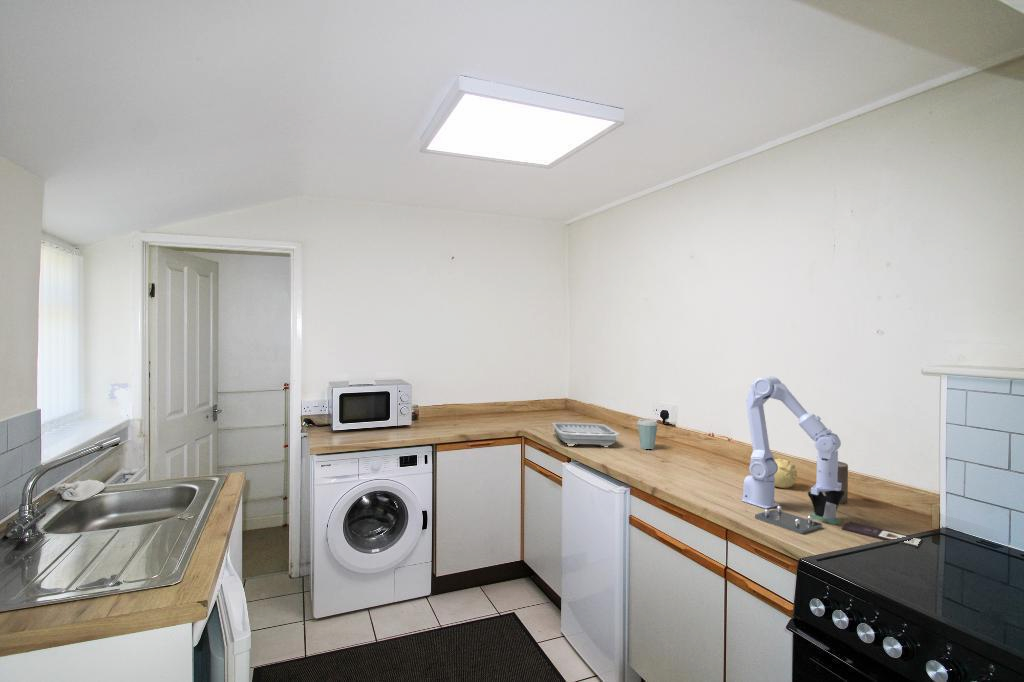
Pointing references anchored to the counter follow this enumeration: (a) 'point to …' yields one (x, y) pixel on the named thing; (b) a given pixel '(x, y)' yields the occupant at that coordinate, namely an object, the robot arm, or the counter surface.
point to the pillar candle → (842, 480)
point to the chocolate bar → (879, 533)
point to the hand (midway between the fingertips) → (825, 514)
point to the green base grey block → (828, 514)
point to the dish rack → (585, 433)
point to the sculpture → (785, 474)
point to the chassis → (789, 521)
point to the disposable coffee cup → (647, 432)
